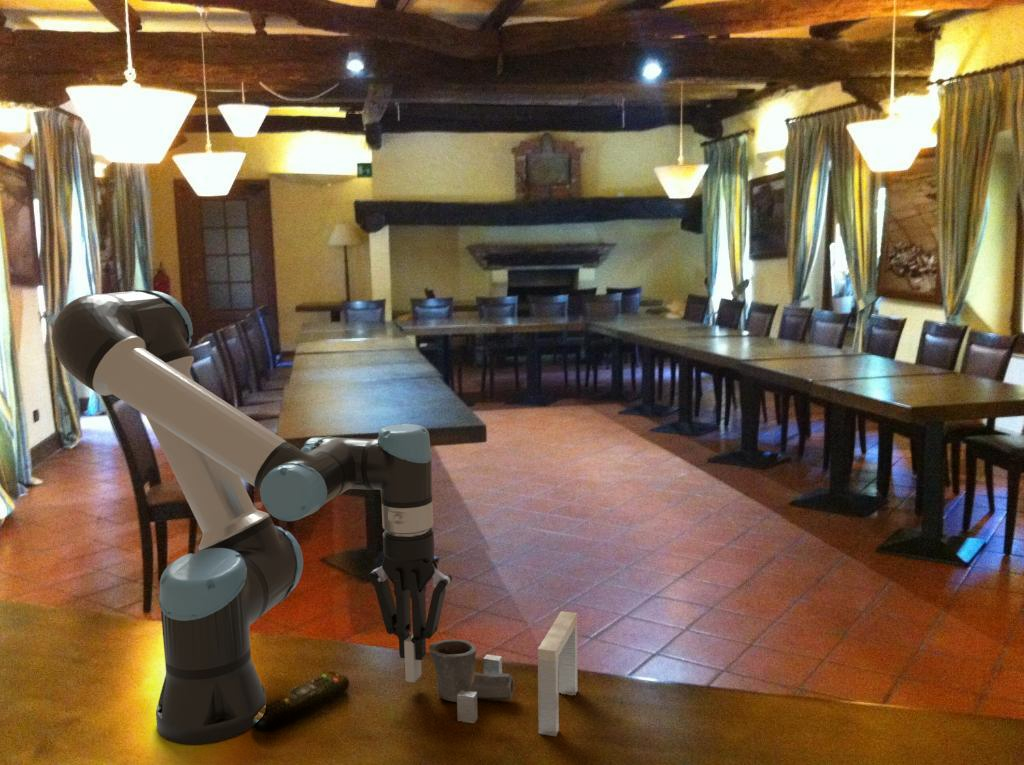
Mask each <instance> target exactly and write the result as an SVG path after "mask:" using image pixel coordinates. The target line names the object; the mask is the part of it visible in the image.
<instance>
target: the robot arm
mask: <svg viewBox="0 0 1024 765" xmlns="http://www.w3.org/2000/svg"><path fill="white" fill-rule="evenodd" d="M193 331H194V329H193V323H192V319H191V317H190V315H189V312H188V311H187V310H186V309H185V306H183V305H182V303H181V302H180V301H178V300H177V299H176V298H174V296H172V295H169V294H167V293H165V292H161V291H157V290H148V289H133V290H130V291H122V292H121V291H120V292H112V293H111V292H109V293H94V294H86V295H83V296H79V297H77V298H76V299H74V300H72V301H70V302H69V303H67V304H66V305H65V306H64V307H62V309H61V311H59V313H58V315H57V316H56V318H55V319H54V323H53V327H52V332H51V342H52V346H53V350H54V353H55V356H56V358H57V359H58V361H59V362H60V364H61V365H62V366H63V368H64V369H65V370H66V371H67V373H69V374H70V375H71V376H73V377H74V378H75V379H76V380H77V381H78V382H80V383H81V384H83V385H84V386H86V387H87V388H88V389H91V390H92V391H93V392H95V393H96V394H98V395H101V396H104V397H106V396H110V395H113V396H114V397H116V398H118V399H120V400H121V401H122V402H124V403H125V404H127V405H128V406H130V407H132V408H133V409H135V410H136V411H138V412H139V413H141V414H143V415H144V416H145V417H146V419H147V421H148V424H149V426H150V427H151V429H152V432H153V433H154V435H155V438H156V440H157V442H158V444H159V446H160V447H161V450H162V452H163V454H164V456H165V458H166V460H167V462H168V464H169V467H170V469H171V470H172V473H173V475H174V477H175V478H176V481H177V482H178V485H179V487H180V490H181V491H182V493H183V496H184V498H185V500H186V502H187V504H188V506H189V507H190V509H191V512H192V514H193V516H194V518H195V520H196V522H197V524H198V526H199V528H200V530H201V532H202V537H201V540H200V543H199V545H198V550H197V551H196V552H195V553H191V552H190V553H186V554H185V555H183V556H181V557H178V558H177V559H175V560H174V561H172V562H170V564H169V565H167V566H166V568H165V569H164V570H163V572H162V574H161V576H160V580H159V596H158V605H159V608H160V614H161V616H160V617H161V627H162V639H163V640H162V641H163V648H164V649H163V652H164V653H163V654H164V662H165V675H164V680H163V683H162V688H161V691H160V695H159V699H158V704H157V706H156V709H155V710H156V711H155V718H156V719H155V720H156V728H157V732H158V733H159V735H160V736H161V737H162V738H164V739H166V740H168V741H170V742H174V743H177V744H178V743H179V744H183V745H184V744H185V745H200V744H201V745H202V744H210V743H215V742H220V741H223V740H228V739H231V738H233V737H235V736H238V735H241V734H243V733H245V732H247V731H249V730H250V729H252V728H253V727H254V726H253V719H254V717H255V716H256V715H257V714H258V712H259V711H260V710H261V709H262V708H263V707H264V706H265V705H266V704H267V694H266V689H265V687H264V686H263V684H262V682H261V680H260V677H259V674H258V672H257V669H256V666H255V665H254V662H253V660H252V653H251V651H252V650H251V649H252V648H251V637H250V636H251V634H250V627H251V625H253V624H254V623H255V622H256V621H257V620H259V619H260V618H261V617H262V616H264V615H265V614H266V613H267V612H268V611H270V610H271V609H272V608H274V607H275V606H276V605H279V604H281V603H282V602H283V601H284V600H285V599H287V598H288V597H289V595H290V594H291V592H292V591H294V589H295V588H296V586H297V585H298V584H299V582H300V580H301V576H302V573H303V569H304V557H303V556H304V555H303V552H302V549H301V547H300V544H299V542H298V541H297V539H296V538H295V536H294V535H293V534H292V533H291V532H290V531H288V530H285V529H283V528H282V527H281V526H278V525H275V524H274V522H273V519H272V518H271V516H272V517H273V518H276V519H277V520H279V521H284V522H294V521H299V520H301V519H303V518H305V517H307V516H310V515H313V514H314V513H316V512H317V511H319V510H320V508H321V507H323V506H324V505H325V504H327V503H329V501H332V500H334V499H336V498H337V497H338V496H340V495H341V494H344V492H346V491H348V490H369V491H370V490H371V491H372V490H374V491H375V490H376V491H377V490H379V491H380V497H381V498H380V501H381V519H382V529H383V530H384V531H383V532H382V549H383V555H384V558H383V559H382V560H383V561H382V563H381V566H380V567H376V568H375V569H373V570H372V571H371V572H369V573H368V576H367V577H368V580H369V581H370V582H371V584H372V586H373V587H374V590H375V594H376V598H377V601H378V606H379V609H380V612H381V616H382V619H383V624H384V627H385V631H386V633H387V634H389V635H394V636H396V637H397V638H398V647H399V648H398V651H399V652H398V654H399V657H400V659H404V670H405V672H404V673H405V674H404V675H405V682H408V683H416V681H417V680H418V679H419V678H420V677H421V676H422V660H423V659H424V658H425V657H426V655H427V648H426V647H427V642H426V641H427V640H429V639H431V638H432V637H433V636H434V635H435V634H436V632H437V631H438V629H439V623H440V618H441V615H442V610H443V604H444V600H445V595H446V591H447V588H448V587H449V585H450V584H451V582H452V580H453V577H452V575H451V574H448V573H447V574H446V575H445V574H444V573H443V572H441V571H440V570H439V569H438V564H437V562H436V559H435V535H434V533H435V532H434V530H433V528H432V527H433V526H434V509H433V481H432V480H433V479H432V478H433V476H432V475H433V474H432V473H433V470H432V468H433V467H432V464H433V463H432V460H433V455H432V449H431V448H432V447H431V441H430V433H429V431H428V428H426V427H424V426H423V425H419V424H412V423H403V424H390V425H387V426H383V427H382V428H380V430H379V431H378V437H377V438H357V437H356V438H355V437H353V438H351V437H338V436H337V437H336V436H332V435H331V436H330V435H329V436H328V435H327V436H325V437H320V436H319V437H311V438H309V439H308V440H306V441H305V443H304V444H303V447H302V448H301V449H299V448H298V447H297V446H295V445H293V444H292V443H291V442H290V443H289V442H288V441H286V439H284V438H282V437H281V436H279V435H277V434H276V433H275V432H273V431H271V430H270V429H268V428H267V427H265V426H264V425H262V424H261V423H260V422H257V421H256V420H254V419H252V418H251V417H249V416H248V415H247V414H245V413H244V412H242V411H241V410H239V409H237V408H236V407H234V406H233V405H231V404H230V403H228V402H226V400H223V398H221V397H219V396H218V395H216V394H215V393H213V392H211V391H210V390H208V389H206V388H205V387H204V386H202V385H200V383H198V382H196V381H194V378H193V377H192V375H191V368H192V365H193V362H194V360H195V358H194V355H193V353H192V351H191V350H190V346H191V343H192V336H193V335H194V332H193ZM242 480H243V481H245V482H247V483H248V484H250V485H251V486H253V487H255V488H256V489H257V490H258V491H259V494H260V501H261V504H263V506H264V508H265V509H266V510H267V512H266V511H262V510H259V509H257V508H256V507H255V505H254V503H253V501H252V498H251V497H250V496H249V495H250V494H248V492H247V489H246V487H245V485H244V482H243V481H242ZM270 515H271V516H270ZM388 579H389V580H388ZM431 579H433V582H432V584H433V591H432V594H431V598H430V603H429V608H428V613H427V606H426V605H427V604H426V602H427V601H426V592H427V585H428V584H429V582H430V581H431ZM390 582H391V583H392V585H393V592H392V589H391V585H390ZM393 595H394V596H393ZM394 597H395V599H394ZM394 600H395V601H394ZM411 618H412V619H411ZM411 632H412V633H411ZM426 639H427V640H426Z"/></svg>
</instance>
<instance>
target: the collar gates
mask: <svg viewBox="0 0 1024 765" xmlns="http://www.w3.org/2000/svg"><path fill="white" fill-rule="evenodd" d="M501 673H503V657H502V656H501V655H494V654H486V655H485V656H484V657H483V674H501ZM577 692H578V612H572V611H562V610H561V611H560V612H559V614H558V615H557V617H556V618H555V620H554V622H553V623H552V625H551V626H550V629H549V630H548V632H547V633H546V635H545V637H544V638H543V640H542V641H541V643H540V645H539V646H538V647H537V693H538V694H537V697H538V698H537V702H538V707H537V709H538V710H537V711H538V717H537V719H538V734H539V735H545V736H552V737H557V735H558V733H559V731H560V728H559V727H560V724H559V723H560V722H559V720H560V718H559V714H560V712H559V711H560V708H559V705H560V704H559V703H560V702H559V698H560V697H559V696H560V695H559V693H561V695H566V694H567V695H568V696H573V695H575V696H576V694H577ZM456 709H457V713H456V714H457V716H456V717H457V722H460V721H462V722H461V723H470V724H475V723H476V721H477V720H478V717H479V716H478V699H477V692H472V691H465V690H460V691H459V693H458V694H457V702H456Z"/></svg>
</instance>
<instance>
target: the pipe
mask: <svg viewBox="0 0 1024 765" xmlns="http://www.w3.org/2000/svg"><path fill="white" fill-rule="evenodd" d="M428 649H429V651H430V654H431V658H432V661H433V665H434V669H435V671H434V672H435V674H436V677H435V678H436V687H437V690H436V691H437V694H438V696H439V697H440V698H441V699H442V700H444V701H447V702H451V703H457V694H458V693H459V691H460V690H465V691H472V692H477V700H512V698H513V696H514V691H515V688H514V687H515V681H514V678H513V676H512V675H511V674H510V673H504V672H502V673H501V674H484V672H483V673H481V672H476V654H477V646H476V645H475V644H473V643H472V642H470V641H468V640H464V639H458V638H457V639H456V638H455V639H452V638H451V639H450V638H448V639H443V640H439V641H436V642H433V643H431V644H429V646H428Z"/></svg>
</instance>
